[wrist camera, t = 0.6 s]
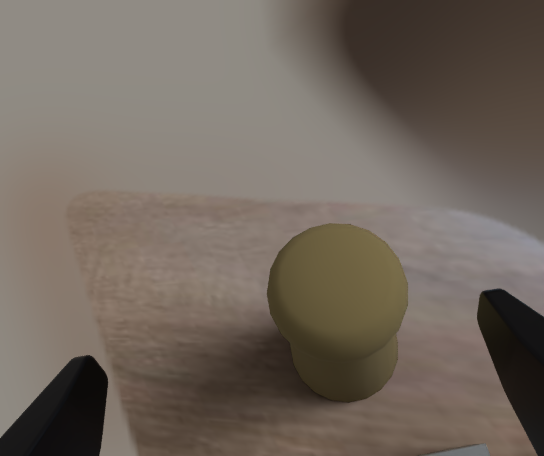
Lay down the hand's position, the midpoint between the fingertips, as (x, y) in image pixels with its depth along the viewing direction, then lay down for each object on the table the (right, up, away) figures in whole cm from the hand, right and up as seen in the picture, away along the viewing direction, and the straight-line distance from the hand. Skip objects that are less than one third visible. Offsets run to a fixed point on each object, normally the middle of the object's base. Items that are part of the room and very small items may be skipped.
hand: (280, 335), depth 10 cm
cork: (+4, -4, +14) cm, 15 cm away
